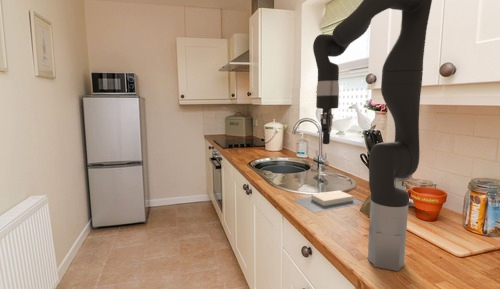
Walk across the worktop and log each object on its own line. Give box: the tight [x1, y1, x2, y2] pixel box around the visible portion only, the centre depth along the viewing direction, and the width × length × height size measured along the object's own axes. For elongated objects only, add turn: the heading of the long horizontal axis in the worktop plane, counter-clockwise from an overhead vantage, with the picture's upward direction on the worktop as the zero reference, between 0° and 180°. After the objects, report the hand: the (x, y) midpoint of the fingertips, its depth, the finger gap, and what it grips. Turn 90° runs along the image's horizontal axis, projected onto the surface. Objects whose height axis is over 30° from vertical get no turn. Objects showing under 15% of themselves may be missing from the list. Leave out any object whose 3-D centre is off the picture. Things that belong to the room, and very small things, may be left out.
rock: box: [359, 192, 371, 219], centre depth 112 cm, size 11×9×10 cm
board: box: [292, 196, 365, 213], centre depth 128 cm, size 26×16×1 cm, turn 113°
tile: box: [311, 190, 354, 207], centre depth 128 cm, size 2×9×15 cm
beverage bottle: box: [394, 174, 414, 191], centre depth 129 cm, size 8×8×20 cm
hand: (326, 143), depth 106 cm, fingers closed
